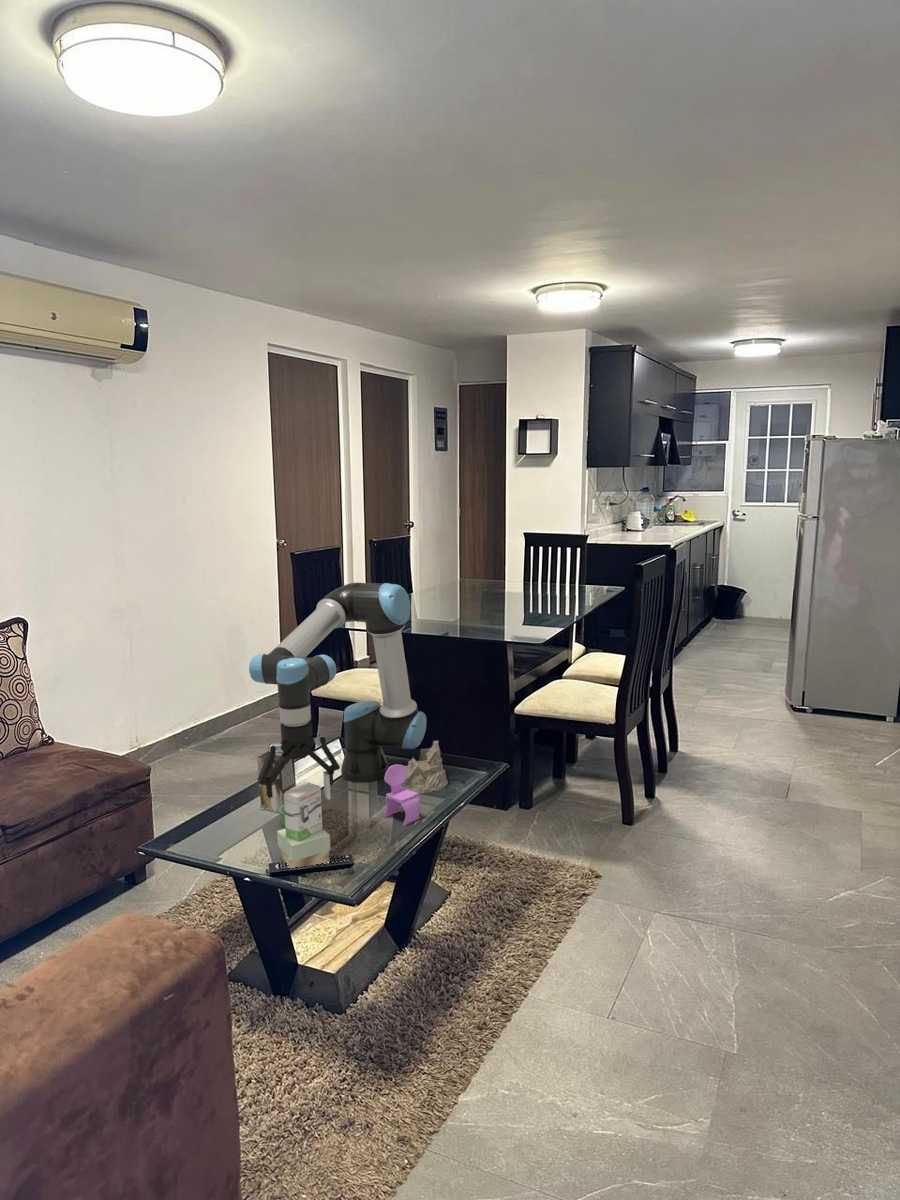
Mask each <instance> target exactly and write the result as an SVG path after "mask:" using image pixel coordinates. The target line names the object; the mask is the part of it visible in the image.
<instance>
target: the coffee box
mask: <svg viewBox="0 0 900 1200" xmlns="http://www.w3.org/2000/svg"><path fill="white" fill-rule="evenodd" d="M282 753H283V751H281V752H280V751H278V753H277V754H275V758H274V761H273V763H272V766H271V768H270V771H269V773H270V772H271V770H272V769H273V768H274V766H275V765H276V763H277V762H278V760H279V759H280V756H281V755H282ZM267 755H268V751H266V752H264V753H262V754H261V755H259V756H257V757H256V761H257V773H258V775H259V774H260V772H261V769H262V767H263V764H264V762H265V759H266V757H267ZM295 768H296V767H295V760H293V759H290V760H289V762H288V763H287V764H286V765H285V766H284V768H283V769H282V771H281V772H280V773H279V775H278V776H277V778H276V779H275V781H274V782H273V783H274V784H275V788H276V801H277V811H274V810H273V808H272V806H271V798H268V796H267V794H266V785H260V783H259V782H258V786H259V796H260V809H261V808H264V809H267V810H266V811H268V810H270V812H274V813H278V814H280V811H279V809H280V807H281V806H283V805H284V793H285V792H286V791H288V790H290V789H292V788H294V787H296V786H297V782H296V769H295ZM269 773H268V775H269Z"/></svg>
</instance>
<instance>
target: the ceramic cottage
mask: <svg viewBox="0 0 900 1200" xmlns="http://www.w3.org/2000/svg"><path fill="white" fill-rule="evenodd" d="M442 762H443V758H442V757H441V749H440V746H439V740H433V742H432V745H431V747H429V748H420V751H419V757H418V761H417V759H415V757H414V756H412V758H411V759H410V760H408V764H407V765H404V766H405V767H406V768H407V777H406V780H405V781H404V782H403V783H402V784H401V788H405V789H408V790H410V791H413V792H416V793H418V795H420V794H428V792H429V793H433V792H432V791H436V790H438V791H439V789H441V788H443V787H445V786H446V785H447V784H448V785H449V782H448V779H447V775H446V770H445V769H444V767H443V763H442ZM448 785H447V786H448ZM436 792H437V791H436Z"/></svg>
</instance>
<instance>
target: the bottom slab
mask: <svg viewBox="0 0 900 1200" xmlns="http://www.w3.org/2000/svg"><path fill="white" fill-rule="evenodd" d="M279 853H280V858H281V859H282V862H283V863H284V862H286V863H287V864H288V865H289V867H290V868H295V867H303V866H310V865H316V864H321V863H325V862H330V861H331V860H330V859H331V857H330V850H329V851H325V852H322V853H319V854H315V855H312V856H309V857H306V858H302V859H299V860H295V861H292V860H291V859H290V858H289V857H288V856H287V855H286V854H285V852H284V851H283V850H282V849H281V848H280V847H279ZM330 863H331V862H330Z"/></svg>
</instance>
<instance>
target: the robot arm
mask: <svg viewBox="0 0 900 1200" xmlns="http://www.w3.org/2000/svg"><path fill="white" fill-rule="evenodd" d="M315 607H316V608H315V610H314V611H313V612H312V613H311V614H310V615H309V616H308V617H306V618H305V619H304V620H303V621H302V622H301V623H300V624H299V625H298V626H297V627H296V628H295V629H294V630H292V631H291V633H289V634H288V635H287V636H286V637H285V638H283V640H282V641H281V642H280V643H279V644H278V645H277V646H276V647H274V648H273V649H272V650H271V651H270V652H268V653H262V654H261V653H259V654H255V655H254V656H252V658H251V660H250V662H249V667H248V671H249V676H250V678H251V679H252V680H253V681H254V682H256V683H261V684H265V685H277V692H278V693H277V694H278V706H279V707H278V708H279V720H280V736H281V737H280V740H281V741H280V744H273V743H269V745H268V750H267V752H268V755H267V757H266V759H265V762H264V764H263V767H262V769H261V772H260V774H258V777H257V779H256V780H257V782H258V784H259V783H260V785H266V794H267V796H268V798H271V806H272V808H273V810H274V811H277V801H276V788H275V784H274V783H273V782H274V781H275V779H276V778H277V776H278V775H279V773H280V772H281V771H282V769H283V768H284V766H285V765H286V764H287V763H288V762H289V760H290V759H293V760H294V761H295V760H296V761H297V760H299V759H306V757H307V756H309V757H310V758H311V759H313V761H315V762H316V763H317V764H318V765H319V766H320V767H321V768H323V769H324V771H323V772H322V773H323V775H322V776H323V786H324V787H323V789H324V797H325V798H326V799H327V801H328V800H329V801H330V800H331V799H332V798H331V786H333V785H334V773H335V772H336V771H339V770H340V773H341V774H340V775H341V777H342V779H344V780H346V781H349V782H354V783H366V782H374V781H377V780H381V779H382V778H384V777H385V774H386V772H387V770H388V768H389V764H388V760H387V758H386V756H385V752H384V751H383V747H393V748H401V749H403V750H405V749H408V750H409V749H411V750H413V749H417V748H418V747H419V746H420V745H421V743H422V741H423V740H424V737H425V733H426V730H427V715H426V714H425V712H423V711H419V710H418V704H417V702H416V701H415V700H414V699H412V698H411V691H410V682H409V675H408V667H407V662H406V658H405V650H404V649H405V647H404V643H403V642H404V641H403V635H402V630H403V629H404V628H405V627H406V623H407V622H408V621H409V619H410V615H411V611H410V610H411V601H410V597H409V595H408V592H407V591H406V590H405V588H404V587H403V586H401V585H400V584H395V583H390V582H385V583H381V582H380V583H377V582H376V583H375V582H373V583H372V582H350V583H346V584H344V585H342V586H340V587H338V588H335V589H334V590H333V591H330V592H329V593H328V594H326V595H325V596H324V597H323V598H322V599H320V600H319V601H318V603H317V604H316V606H315ZM351 622H352V623H353V622H356V623H357V622H358V623H365V630H366V632H367V633H368V634H370V635H371V636H372V640H373V647H374V654H375V659H376V665H377V671H378V679H379V683H380V684H379V685H380V690H381V696H382V705H381V703H380V702H379V701H377V700H365V701H359V702H355V703H353V704H350V705H348V706H346V708H344V711H343V728H344V742H345V745H344V746H345V751H344V752H345V754H344V757H343V760H342V764H341V766H340V765H339V763H338V761H337V759H336V758H335V756H334V754H333V753H332V752H331V750H330V749H329V747H328V745H327V741H326V737H325V736H323V734H319V735H317V737H314V736H313V725H312V721H311V720H312V713H311V712H312V711H311V710H312V709H311V696H310V693H312V692H314V690H316V689H319V688H321V687H323V686H327V685H328V683H330V682H332V681H333V680H334V679H335V677H336V674H337V665H336V662H335V661H334V659H333V658H332V657H330V656H328V655H326V654H319V655H315V656H313V657H307V656H308V655H309V654H310V653H312V652H313V650H315V648H317V646H318V645H319V644H320V643H321V642H323V640H325V638H326V637H328V635H329V634H330V633H331V632H332V631H333V630H335V629H338V628H341V627H342V626H343V625H344V624H346V623H351ZM315 744H316V745H317V746H318V747H319V746H320V748H321V750H322V751H323V754H325V756H326V757H327V759H328V761H329V763H330V764H331V765H329V764H328V763H326V762H325V760H323V759H322V758H321V757H320V756H319V755H317V754H316V753H315V752H314V751H313V750H312V749H313V747H314V746H315ZM280 750H281V752H282V755H281V756H280V759H279V760H278V762H277V763H276V765H275V766H274V768H273V769H272V770H271V772H270V773H269V771H270V768H271V766H272V763H273V761H274V758H275V754H277V753H278V752H280ZM268 773H269V775H268Z"/></svg>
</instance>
